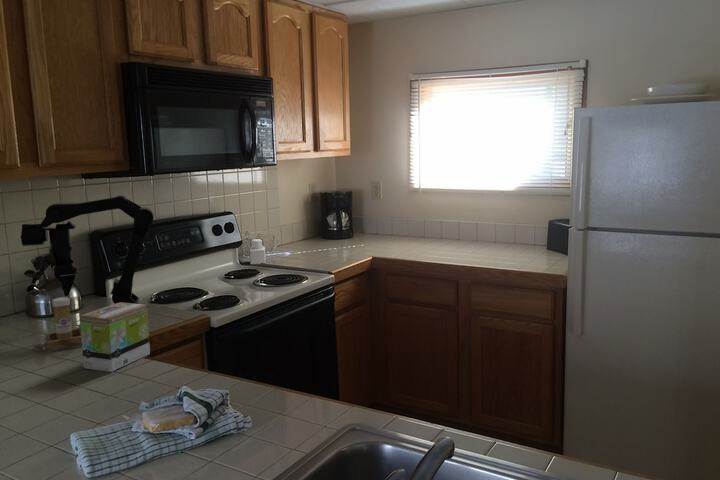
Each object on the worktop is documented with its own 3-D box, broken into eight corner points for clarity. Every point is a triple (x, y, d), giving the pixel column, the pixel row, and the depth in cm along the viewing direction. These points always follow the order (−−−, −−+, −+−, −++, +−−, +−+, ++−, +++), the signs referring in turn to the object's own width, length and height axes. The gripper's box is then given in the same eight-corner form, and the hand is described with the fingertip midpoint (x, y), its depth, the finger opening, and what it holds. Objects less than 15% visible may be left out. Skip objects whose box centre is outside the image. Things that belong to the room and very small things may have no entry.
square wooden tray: (82, 336, 189) (81, 327, 189) (86, 345, 180) (85, 336, 180) (46, 342, 184) (45, 333, 184) (48, 352, 176) (47, 342, 175)
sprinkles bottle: (60, 345, 180) (55, 301, 177) (54, 342, 183) (49, 298, 181) (76, 342, 183) (71, 298, 181) (70, 338, 186) (66, 296, 184)
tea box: (113, 373, 158) (108, 317, 155) (82, 369, 161) (77, 315, 159) (151, 354, 172) (147, 303, 169) (123, 350, 175) (118, 300, 173)
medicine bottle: (251, 261, 305) (250, 238, 303) (265, 261, 305) (264, 237, 304) (250, 264, 298) (249, 240, 296) (265, 263, 298) (263, 239, 297)
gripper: (29, 242, 193) (35, 290, 195) (32, 250, 177) (38, 303, 179) (68, 239, 199) (73, 286, 201) (74, 246, 183) (79, 297, 185)
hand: (65, 292), depth 191 cm, fingers open, 9 cm apart
